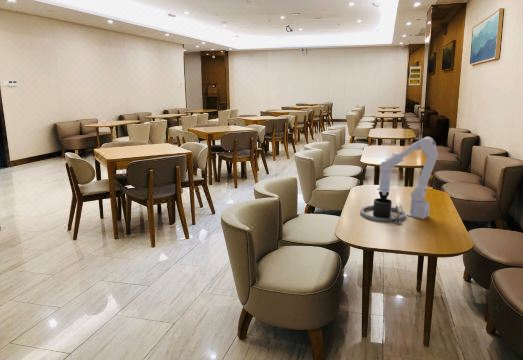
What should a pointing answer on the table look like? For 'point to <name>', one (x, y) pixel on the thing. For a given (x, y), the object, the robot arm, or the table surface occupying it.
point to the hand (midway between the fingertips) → (383, 204)
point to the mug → (382, 208)
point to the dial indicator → (398, 214)
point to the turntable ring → (380, 217)
